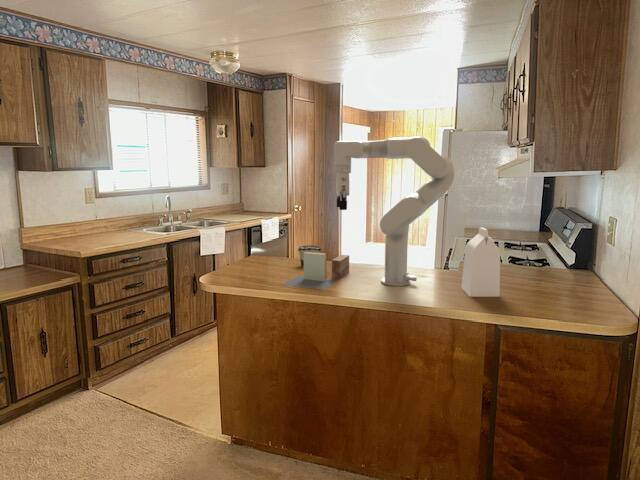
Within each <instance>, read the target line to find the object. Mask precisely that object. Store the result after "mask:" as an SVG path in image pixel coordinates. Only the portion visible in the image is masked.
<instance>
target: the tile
mask: <svg viewBox="0 0 640 480" xmlns="http://www.w3.org/2000/svg"><path fill="white" fill-rule="evenodd" d="M303 276H304V279H308V280H317V281H326V280H327V253H324V252H321V253H314V252H304V267H303Z"/></svg>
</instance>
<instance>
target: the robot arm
mask: <svg viewBox="0 0 640 480" xmlns="http://www.w3.org/2000/svg"><path fill="white" fill-rule="evenodd" d="M333 149H334V152H333V153H334V154H333V155H334V156H333V173H334V174H335V175H336V177H335V190H336V191H335V192H336V197H337V198H336V208H338V209H339V210H340V211H346V210H348V199H347V197H349V196H350V174H352V159H378V158H379V159H387V160H390V159H392V160H395V159H397V160H398V159H400V160H401V159H406V160H407V159H411V160H412V162H414V163H415V164H416V165H417V166H418V167H420V169H421V170H422V171H423V172H424V173H425V174H427V175H428V176H429V177H430V178H429V180H428V181H426V182H425V183H423V184H422V186H421V187H420V188H418V189H417V190H416V191H415V192H413V193H412V194H410V195H407V196H405V197H403V198H402V199H401V200H400V201H398V202H397V203H396V204H395V205H394V206H393V207H392V208H391V209H390V210H389V211H388V212H386V213H385V214H384V215H383V216H382V217H381V219H380V222H379V228H380V231H381V232H382V234H384V235H385V239H384V240H385V241H384V243H385V244H384V277H382V278H381V279H380V282H381V284H383V285H385V286H391V287H404V286H405V287H406V286H408V285H410V284H411V281H412V282H417V276H415V275H410V274H409V271H408V246H409V245H408V244H409V243H408V242H409V239H408V238H409V232H410V231H409V230H410V224H412V223H413V222H415V220H416V219H418V218H419V217H421V216H422V215H424V213H425V212H426V211H427V210H429V208H430V207H431V206H433V205H434V204H435V203H436V202H437V201H438V200H440V199H441V198H442V197H443V196H444V195H445V194H446V193H447V192H448V190H449V189H450V188H451V186H452V184H453V182H454V178H455V167H454V164H453V162H452V160H450V158H449V157H447V156H443V155H441V154H439V153H438V152H437V151H436V150H435V149H434V148H433V147H432V146H431V143H430V141H429V140H428V138H426V137H424V136H423V137H422V136H417V135H416V136H412V137H411V136H410V137H390V138H387V139H383V140H351V141H348V140H338V141H335V143H334V147H333Z"/></svg>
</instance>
